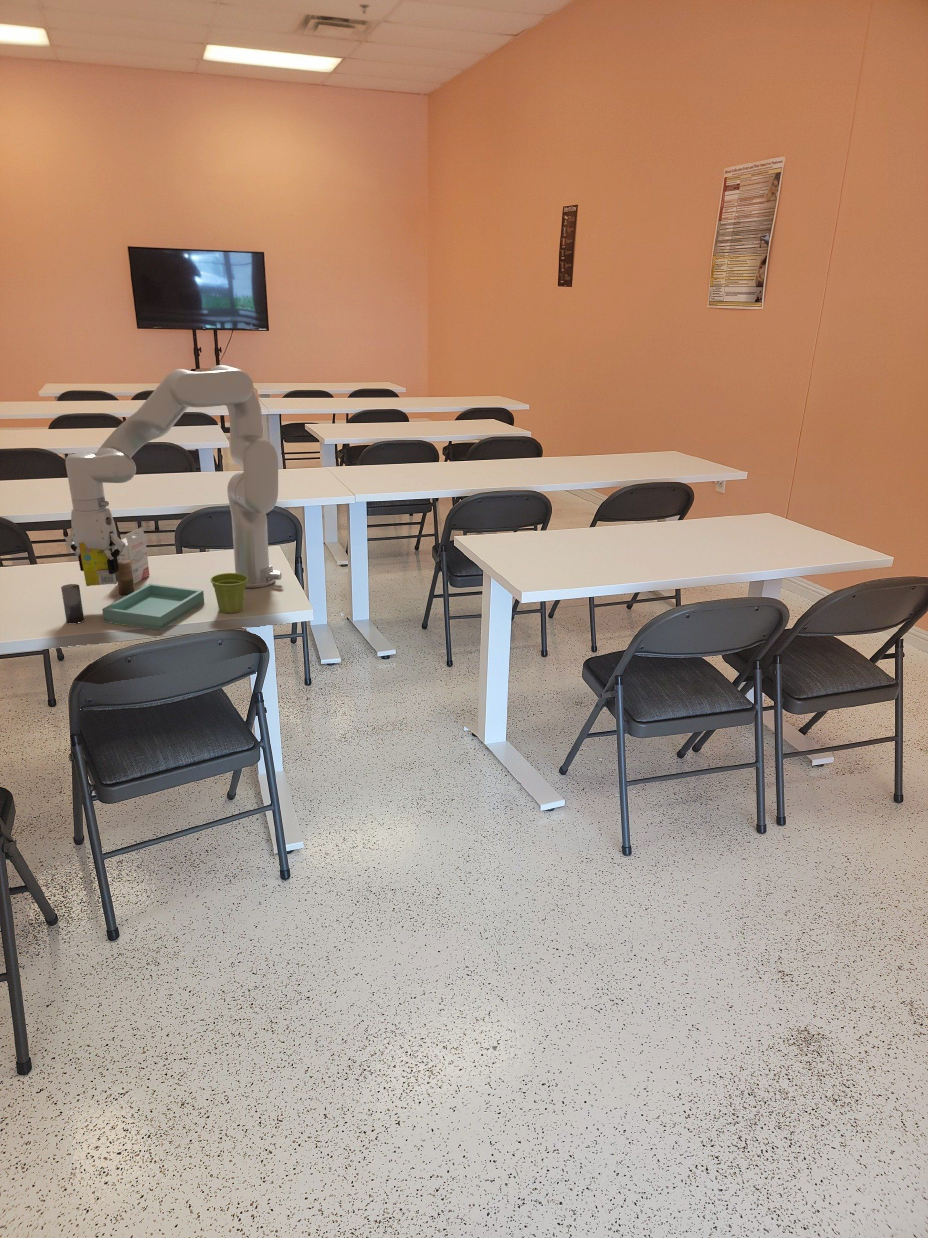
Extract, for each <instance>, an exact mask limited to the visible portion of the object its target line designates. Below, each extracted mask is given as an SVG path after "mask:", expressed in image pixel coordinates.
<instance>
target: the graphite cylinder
mask: <svg viewBox="0 0 928 1238" xmlns="http://www.w3.org/2000/svg"><path fill="white" fill-rule="evenodd" d="M60 588H61V595H62V596H61V597H62V600H63V608H64V615H65V621H66V623H67V624H69V623H76V624H79V623H78V622H81V623H83V622H84V621H85V617H84V609H83V603H82V595H81V589H80V585H79V584H76V583H68V584H65V585H61V587H60ZM83 620H84V621H83ZM82 621H83V622H82Z"/></svg>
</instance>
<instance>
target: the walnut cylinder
mask: <svg viewBox="0 0 928 1238" xmlns="http://www.w3.org/2000/svg"><path fill="white" fill-rule="evenodd" d="M118 566H119V571H118V572H117V578H118V581H117V587H118V589H117V591H118V595H119V596H121V597H125V596H127V595H129V594H131V593H133V592H135V591H136V590H135V584H134V582H133V573H132V565H131V561H130V560H118Z"/></svg>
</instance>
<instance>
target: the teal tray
mask: <svg viewBox="0 0 928 1238" xmlns="http://www.w3.org/2000/svg"><path fill="white" fill-rule="evenodd" d="M204 595H205V594H204V589H203V590H202V589H195V588H186V587H179V586H171V585H163V584H157V583H156V584H154V583H148V584H146V585H144V586H142V587H140V588H139V589H137V590H135V592H133V593H131V594H129V595H127V596H123V597H122V598H120V599H118V600H116V601H115V602H112V603H110V604H109V605H107V606H105V607H103V608H102V609H101V610H102V617H103V622H104V623H107V622H112V623H111V624H115V623H117V624H116V625H122V624H123V626H131V627H138V628H144V629H145V628H146V629H152V630H158V631H163V630H164V629H166V628H168V627H169V626H170V625H172V624H173V623H175V622H177V621H178V620H180V619H182V618H183V617H185V616H186V615H187V614H189V613H191V612H192V611H194V610H195V609H198V607H201V606H202V605H203V604H205V596H204Z"/></svg>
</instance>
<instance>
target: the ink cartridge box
mask: <svg viewBox="0 0 928 1238" xmlns="http://www.w3.org/2000/svg"><path fill="white" fill-rule="evenodd" d="M136 535H137V536H136ZM121 540H122V541H123V542H124V543H125V547H124V548H123V550H122V552H121V553H120V554H119V556H118V557H117V559H118V560H130V561H131V565H132V573H133V582H134V585H135V584H137V583H138V582H141V581H142V580H144V579H145V578H148V577H149V576H150V569H149V568H150V567H149V560H148V559H149V558H148V552H147V551H148V550H147V544H146V542H147V541H146V537H145V531H144V528H143V527H142V526H141V527H138V528H137V529H134V530H132V531H131V532H128V533H126V534H125V538H123V539H121ZM114 547H115V548H116V547H117V545H116V546H114Z"/></svg>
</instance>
